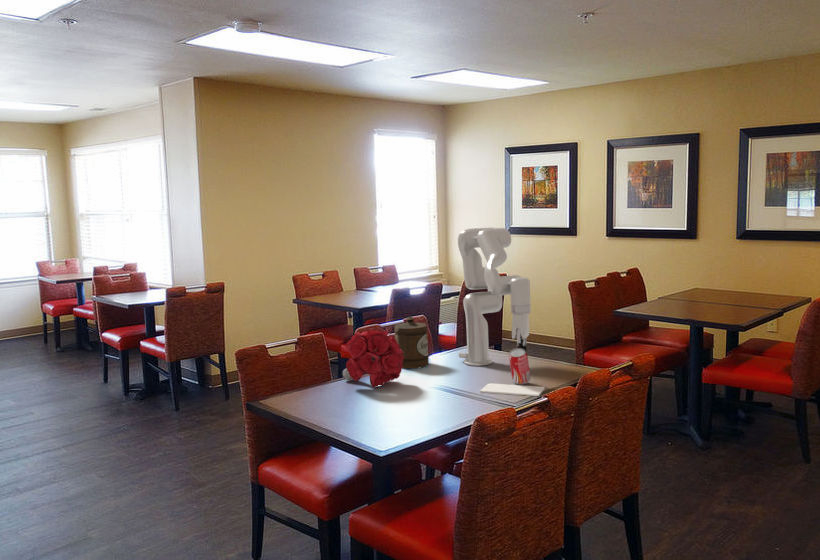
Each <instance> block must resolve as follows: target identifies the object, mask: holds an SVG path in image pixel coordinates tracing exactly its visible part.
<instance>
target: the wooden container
mask: <svg viewBox="0 0 820 560" xmlns="http://www.w3.org/2000/svg"><path fill="white" fill-rule="evenodd" d="M414 319H415V317H413V316H408V317H406V322H403V323H398V324H395V325H394V338H395V339H396V341H397V343H398V345H399V347H400V349H401V350H402V352H403V353H402V354H401V355H403V356H404V359H403V362H402V363H403V367H402V369H406V368H413V369H420V368H419V367H421V368H425V367H426V365H427V366H428V365H429V345H428V342H429V341H428V325H427V324H426V323H424V322H415V321H414ZM424 366H425V367H424Z"/></svg>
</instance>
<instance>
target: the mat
mask: <svg viewBox="0 0 820 560" xmlns="http://www.w3.org/2000/svg"><path fill="white" fill-rule="evenodd" d="M543 391H545V386H533V385H532V386H531V385H518V384H505V383H492V382H491V383H487V384H486V385H485V386H484V387H483V388H481V389H480V390H479V392H480V393H486V394H495V395H496V394H498V395H512V396H523V395H526V397H537V396H538V397H540V395H541V394H542V393H543Z"/></svg>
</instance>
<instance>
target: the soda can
mask: <svg viewBox="0 0 820 560" xmlns="http://www.w3.org/2000/svg"><path fill="white" fill-rule="evenodd" d="M508 361H509V367H510V373H511V380H512V382H513V383H514V384H515V385H522V386H525V385H527V384H528V383H529V382H530V381H531V372H530V365H529V358H528V354H527V353H526V351H525V350H524V349H522V348H517V347H516V348H513V349H511V350H510V351H509V355H508Z"/></svg>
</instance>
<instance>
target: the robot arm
mask: <svg viewBox="0 0 820 560" xmlns="http://www.w3.org/2000/svg"><path fill="white" fill-rule="evenodd" d="M511 244H512V236H511V233H510V231H509V230H508V229H507V228H505V227H476V228H473V227H471V228H467V229H464V230H461V231H460V232H459V233H458V236H457V247H458V251H459V252H460V256H461V259H462V271H463V278H464V279H463V280H464V283H465V287H466V289H468V290H485V289H487V291H479V292H471V293H468V294H466V295H465V297H463V300H462V301H463V302H462V303H463V309H464V313H465V323H466V324H465V325H466V326H465V327H466V349H467V350H466V352H459V353H458V357H459V358H460V359H464V360H463V361H464V362H463V363H464V365H466V366H467V365H468V366H472V367H473V366H475V367H480V366H481V367H482V366H483V367H484V366H488V365H491V364H492V363H493V359H492V358H490V354H489V353H490V352H489V325H488V321H487V319H486V318H485V317H484V315H483V314H489V313H490V314H492V313H497V312H500V311H501V309H502V307H503V296H508V295H510V314H512V317H511V318H512V320H511V338H512V340H515V339H516V344H517V345H516V348H522V349H524V350H525V351H526V353H527V338H528V337H529V336H530V315H529V314H531V312H532V311H531V307H532V306H531V281H530V279H529V278H528V277H523V276H520V275H518V274H517V275H516V274H515V275H502V276H501V275H500V273H499V271H498V270H497V268H499V267H501V266H502V265H503V264H504V263H505V262H506V261H507V259H508V253H507V252H506V250H505V248H508V247H510V245H511ZM477 248H480V249H481V252H482V254H483V256H484V259H485V261H486V264H485V266H483V258H482V256H481V254H480V252H479V251H478V250H477Z"/></svg>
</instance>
